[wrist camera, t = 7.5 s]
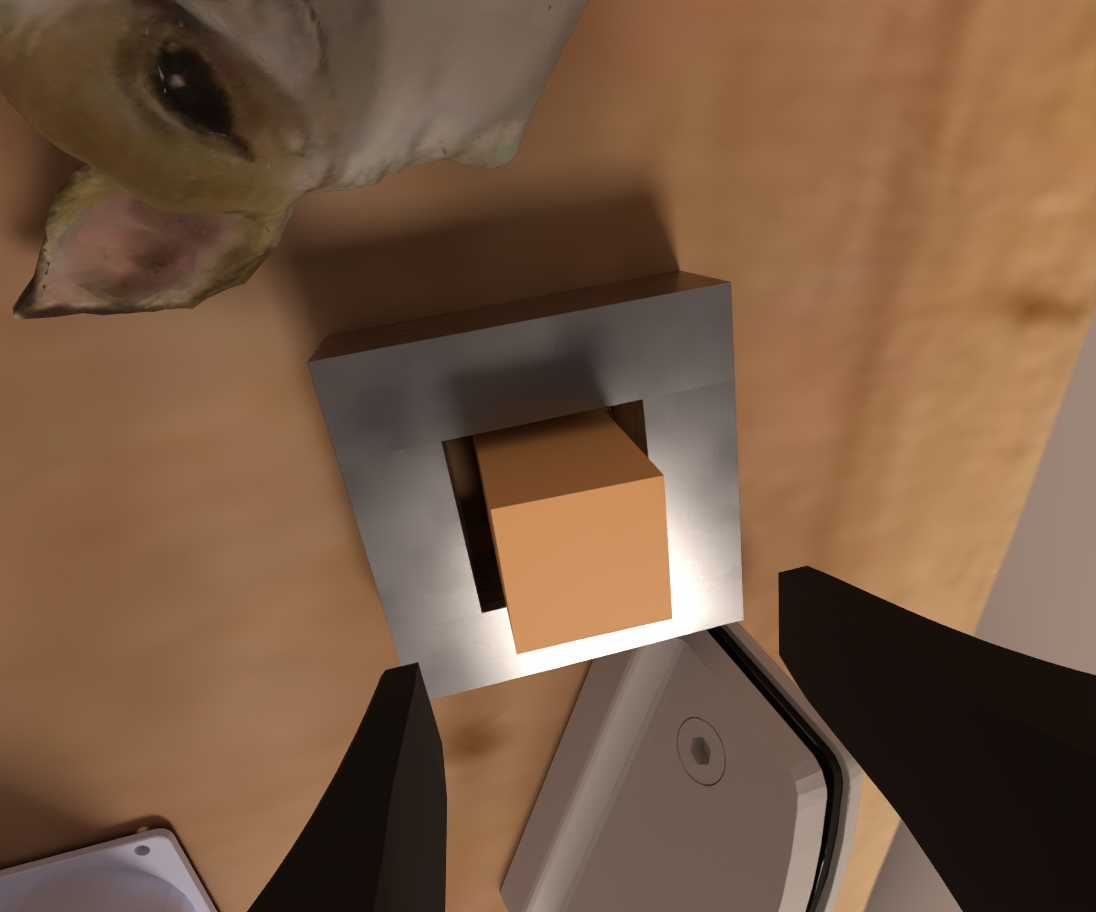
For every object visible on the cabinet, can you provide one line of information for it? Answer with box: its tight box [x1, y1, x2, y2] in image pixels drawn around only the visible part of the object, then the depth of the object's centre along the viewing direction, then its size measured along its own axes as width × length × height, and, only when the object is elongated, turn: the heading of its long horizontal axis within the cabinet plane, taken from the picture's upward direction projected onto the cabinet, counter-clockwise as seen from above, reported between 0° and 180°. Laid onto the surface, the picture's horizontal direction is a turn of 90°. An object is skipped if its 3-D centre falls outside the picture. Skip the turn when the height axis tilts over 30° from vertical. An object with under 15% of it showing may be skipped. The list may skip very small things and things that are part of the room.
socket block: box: [307, 271, 744, 700], centre depth 20 cm, size 11×11×4 cm
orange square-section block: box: [472, 408, 673, 654], centre depth 18 cm, size 4×4×7 cm
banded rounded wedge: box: [500, 621, 863, 912], centre depth 24 cm, size 17×5×10 cm, turn 162°
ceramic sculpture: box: [0, 0, 589, 319], centre depth 12 cm, size 11×9×15 cm
